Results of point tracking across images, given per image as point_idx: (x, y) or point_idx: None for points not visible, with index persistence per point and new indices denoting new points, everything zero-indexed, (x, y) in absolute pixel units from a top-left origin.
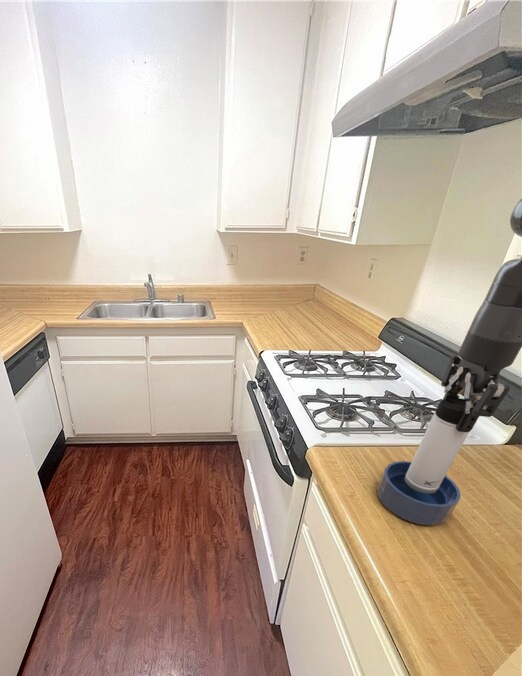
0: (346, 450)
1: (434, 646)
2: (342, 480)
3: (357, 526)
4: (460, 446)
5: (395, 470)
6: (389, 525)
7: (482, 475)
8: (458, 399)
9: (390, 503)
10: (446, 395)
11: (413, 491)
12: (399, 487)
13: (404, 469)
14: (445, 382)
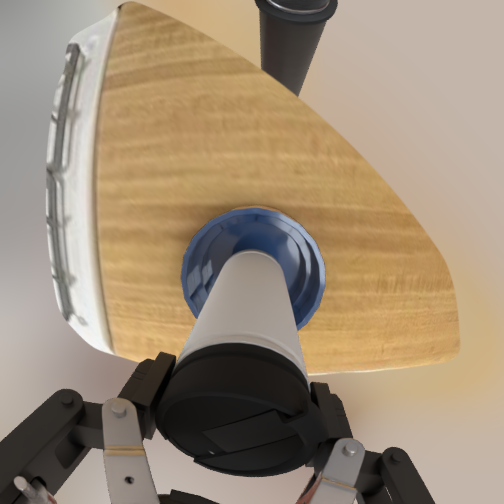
0: (114, 304)
1: (435, 349)
2: None
3: None
4: (294, 322)
5: (194, 286)
6: (302, 328)
7: (186, 76)
8: (166, 408)
9: None
10: (147, 437)
11: (229, 248)
12: (218, 270)
13: (191, 267)
14: (87, 450)
